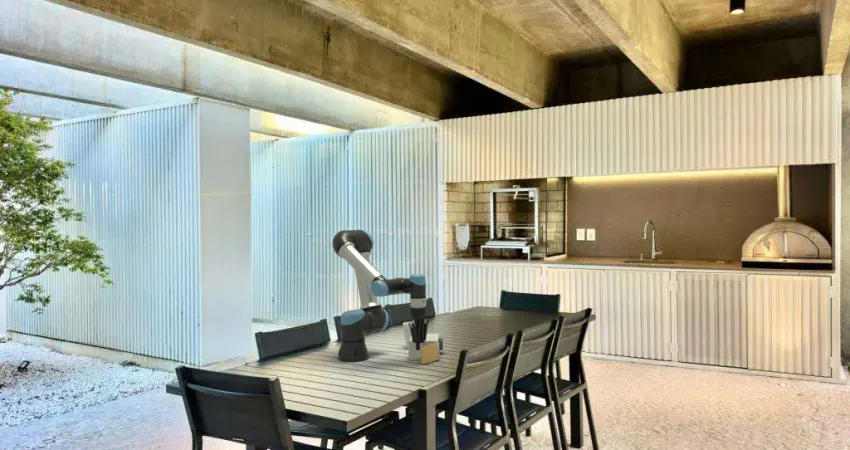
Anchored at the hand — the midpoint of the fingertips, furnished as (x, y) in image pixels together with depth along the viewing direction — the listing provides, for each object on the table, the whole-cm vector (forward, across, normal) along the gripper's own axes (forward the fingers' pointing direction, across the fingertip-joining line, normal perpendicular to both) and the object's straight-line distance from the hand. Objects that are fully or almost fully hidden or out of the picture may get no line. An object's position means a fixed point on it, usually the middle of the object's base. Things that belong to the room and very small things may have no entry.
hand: (419, 356), depth 284 cm
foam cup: (+3, +25, +25) cm, 36 cm away
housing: (+3, +13, +8) cm, 15 cm away
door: (+2, +3, -4) cm, 6 cm away
